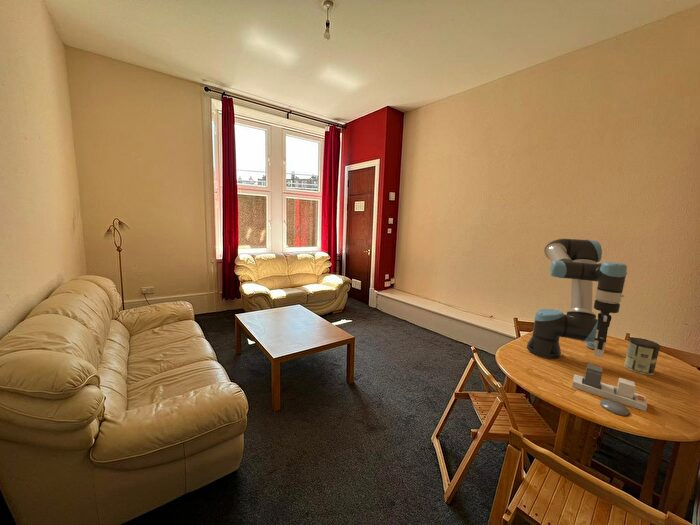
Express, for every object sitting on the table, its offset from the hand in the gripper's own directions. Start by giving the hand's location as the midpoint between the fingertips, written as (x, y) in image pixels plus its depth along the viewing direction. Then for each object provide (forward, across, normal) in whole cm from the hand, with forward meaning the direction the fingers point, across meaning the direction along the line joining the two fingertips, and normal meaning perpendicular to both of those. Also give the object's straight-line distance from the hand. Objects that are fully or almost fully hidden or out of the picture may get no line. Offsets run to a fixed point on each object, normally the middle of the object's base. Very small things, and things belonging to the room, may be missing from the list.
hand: (598, 350), depth 116 cm
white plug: (+16, 0, -10) cm, 19 cm away
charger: (+16, 0, 0) cm, 16 cm away
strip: (+17, 0, -5) cm, 18 cm away
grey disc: (+17, -10, -7) cm, 21 cm away
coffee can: (+17, +38, -17) cm, 45 cm away
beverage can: (+17, +52, 0) cm, 55 cm away
